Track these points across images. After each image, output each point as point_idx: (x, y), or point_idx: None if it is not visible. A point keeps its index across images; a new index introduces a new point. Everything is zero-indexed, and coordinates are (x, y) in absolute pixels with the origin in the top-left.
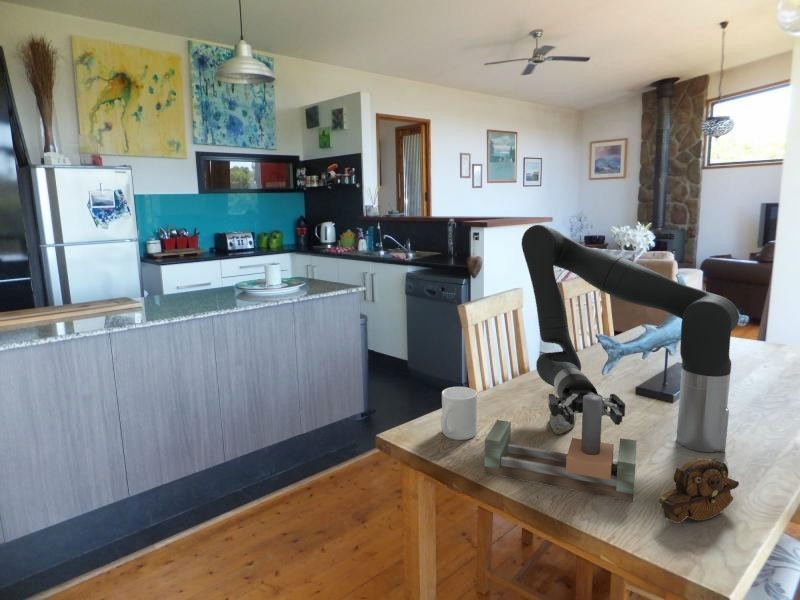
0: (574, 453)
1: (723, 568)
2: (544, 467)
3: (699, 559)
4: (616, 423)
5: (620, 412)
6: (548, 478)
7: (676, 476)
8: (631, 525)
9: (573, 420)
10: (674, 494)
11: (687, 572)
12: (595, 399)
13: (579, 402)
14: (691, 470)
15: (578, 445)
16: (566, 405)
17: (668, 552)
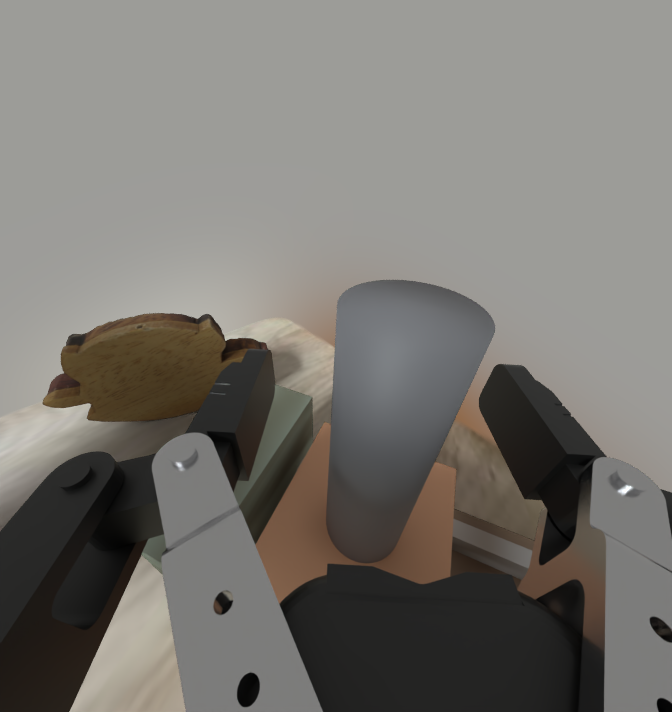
0: (428, 497)
1: (252, 333)
2: (514, 545)
3: (268, 342)
4: (273, 382)
5: (210, 392)
6: (485, 521)
7: (221, 333)
8: (320, 391)
9: (488, 384)
10: (243, 347)
11: (296, 331)
12: (395, 294)
13: (507, 581)
14: (189, 317)
15: (408, 579)
16: (605, 469)
17: (298, 351)
